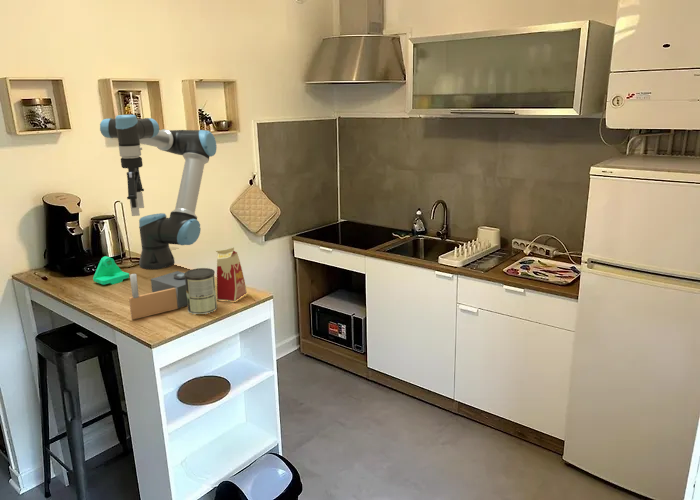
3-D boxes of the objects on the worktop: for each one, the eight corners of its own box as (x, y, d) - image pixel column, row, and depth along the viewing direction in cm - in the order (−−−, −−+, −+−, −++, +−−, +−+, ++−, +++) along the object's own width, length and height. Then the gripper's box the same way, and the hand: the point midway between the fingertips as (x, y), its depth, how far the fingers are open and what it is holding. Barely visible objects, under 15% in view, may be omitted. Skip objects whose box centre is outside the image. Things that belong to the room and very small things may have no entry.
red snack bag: (247, 294, 207) (244, 244, 201) (236, 303, 198) (232, 251, 193) (225, 292, 209) (222, 243, 204) (213, 300, 201) (209, 249, 195)
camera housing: (179, 290, 212) (177, 268, 209) (206, 298, 203) (204, 275, 200) (152, 299, 203) (150, 276, 200) (179, 308, 194) (177, 284, 191)
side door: (131, 318, 184) (126, 275, 179) (178, 306, 194) (174, 265, 189) (133, 320, 182) (127, 276, 178) (180, 308, 192) (176, 267, 188)
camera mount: (103, 287, 216) (100, 263, 213) (93, 283, 221) (90, 259, 218) (131, 279, 225) (128, 256, 223) (121, 276, 230) (118, 253, 227)
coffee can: (181, 310, 191) (178, 273, 188) (205, 302, 199) (202, 266, 195) (199, 317, 185) (195, 278, 181) (223, 308, 193) (220, 271, 189)
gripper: (137, 160, 192) (144, 218, 198) (145, 152, 215) (151, 204, 221) (114, 161, 190) (122, 219, 197) (125, 153, 213) (132, 205, 220)
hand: (138, 211), depth 209 cm, fingers open, 13 cm apart
